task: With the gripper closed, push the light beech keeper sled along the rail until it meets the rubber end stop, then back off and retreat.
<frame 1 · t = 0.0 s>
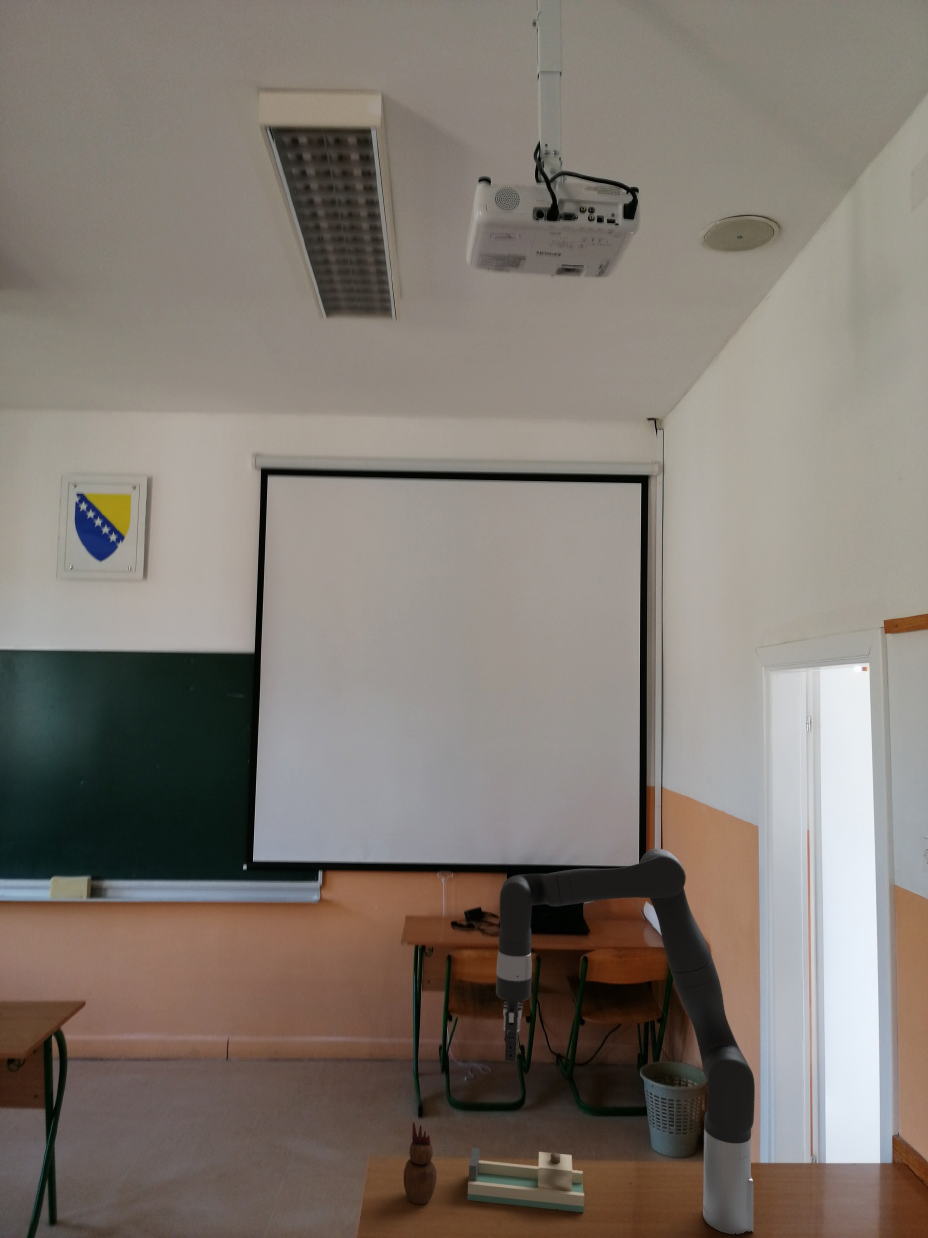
hand: (511, 1052, 175), 29 cm above the table, fingers open, 8 cm apart
wooden figurine: (419, 1200, 170), on the table
rail: (525, 1193, 174), on the table
keeper: (555, 1172, 174), point 5 cm above the table, slide at 0.0 cm
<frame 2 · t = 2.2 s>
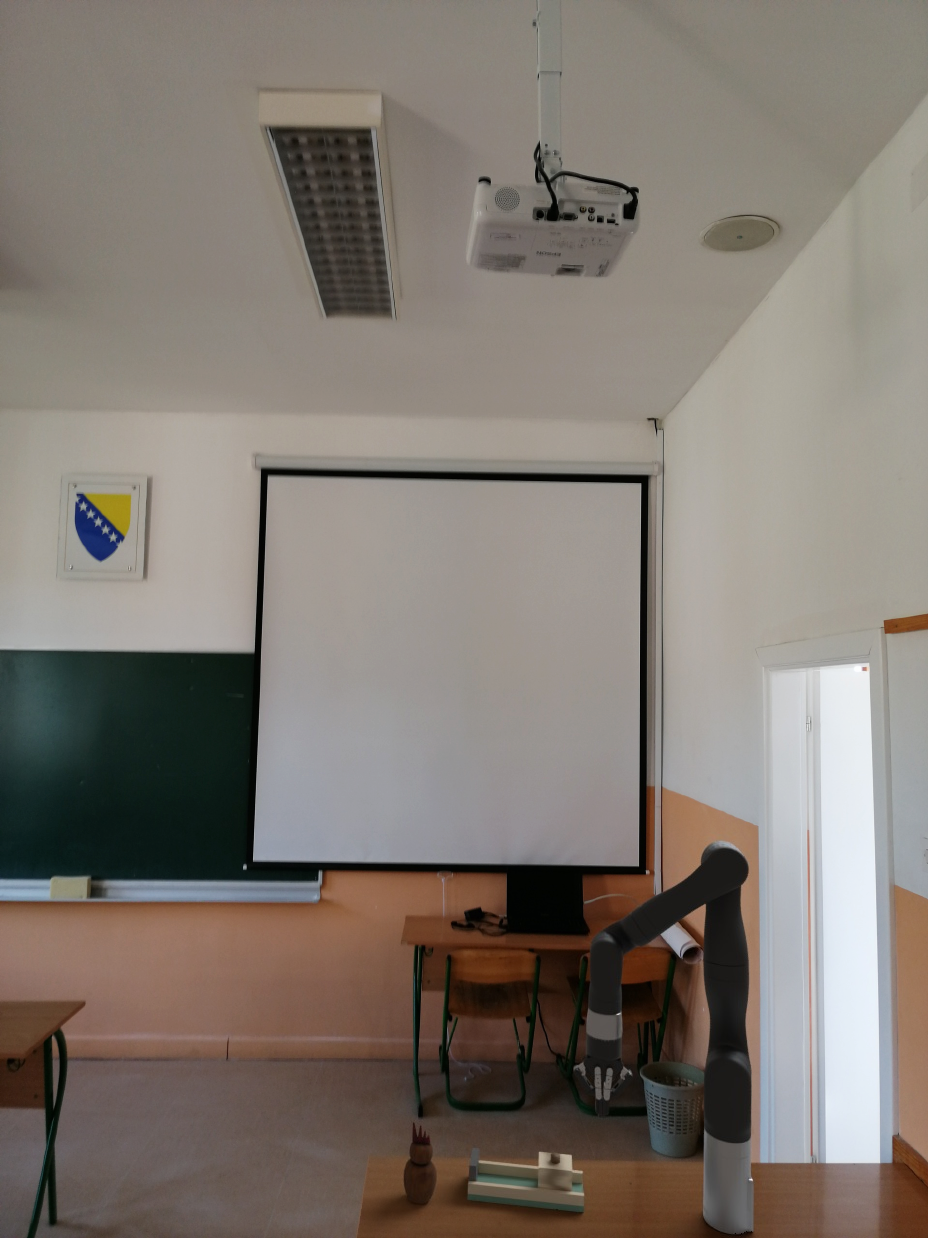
hand: (601, 1116, 174), 17 cm above the table, fingers closed
nothing on the table moved.
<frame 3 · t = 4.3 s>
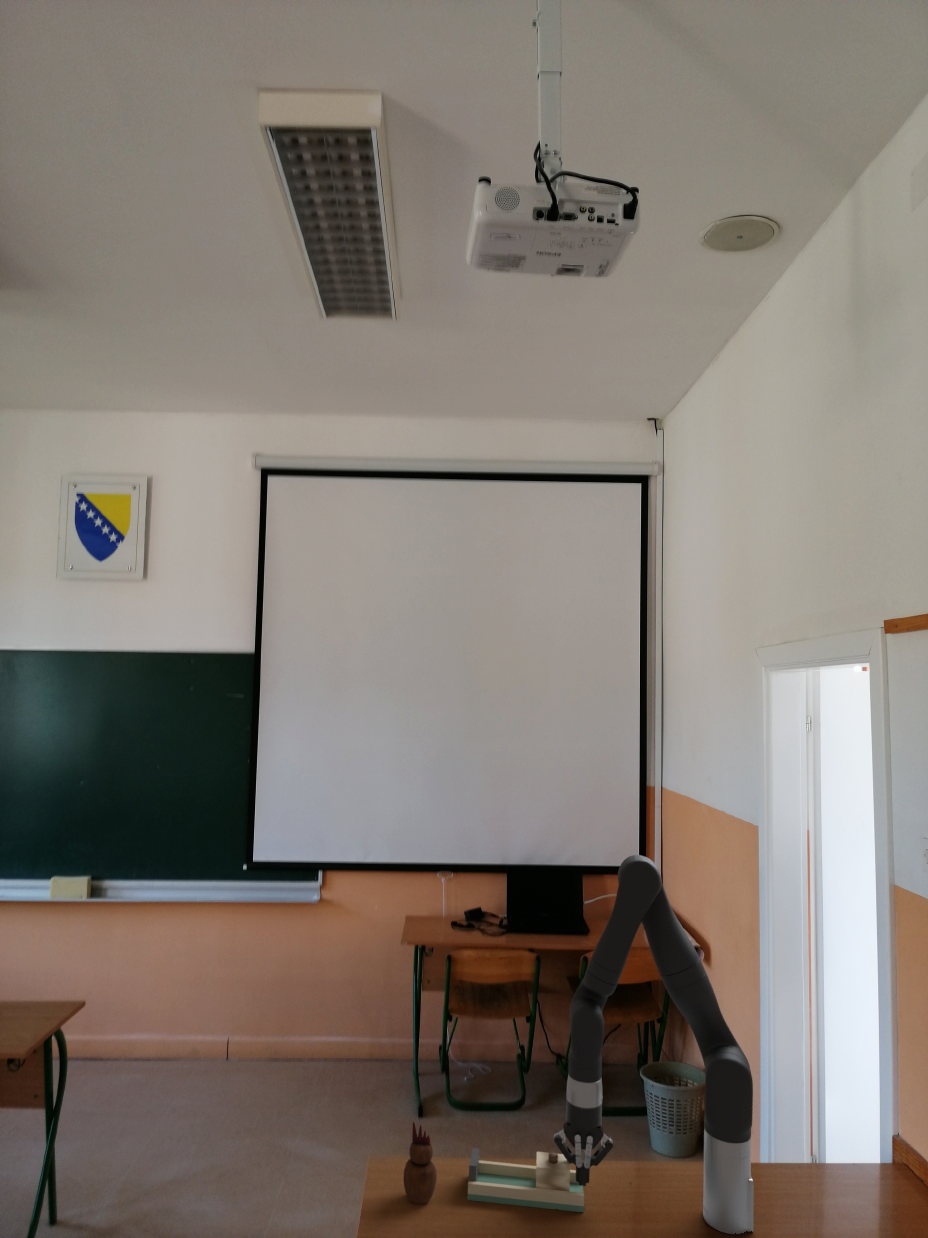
hand: (582, 1184, 173), 3 cm above the table, fingers closed
keeper: (552, 1172, 174), point 5 cm above the table, slide at 0.5 cm, touching gripper
everything else where it was.
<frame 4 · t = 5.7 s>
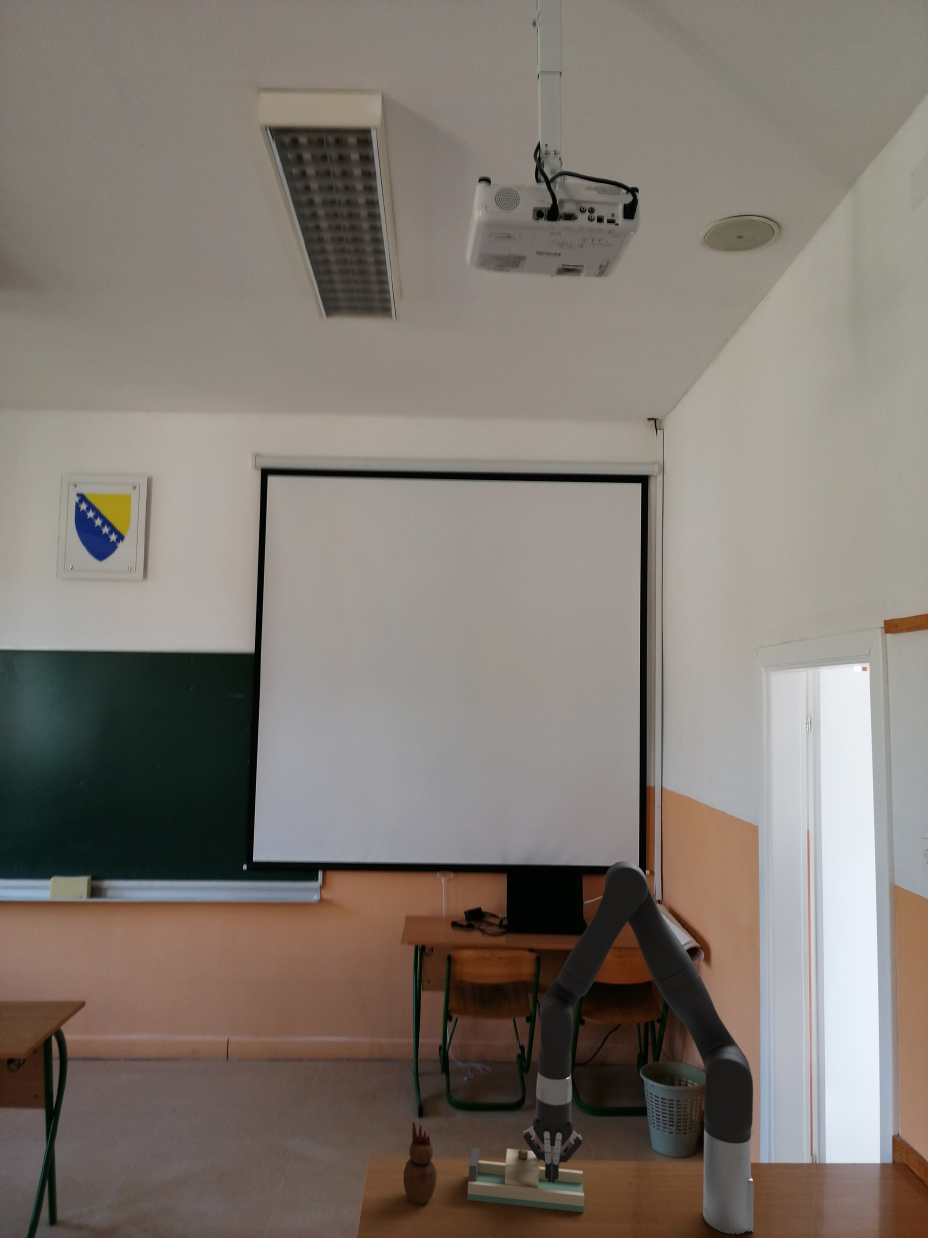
hand: (551, 1180, 173), 3 cm above the table, fingers closed
keeper: (522, 1168, 174), point 5 cm above the table, slide at 6.9 cm, touching gripper
everything else where it was.
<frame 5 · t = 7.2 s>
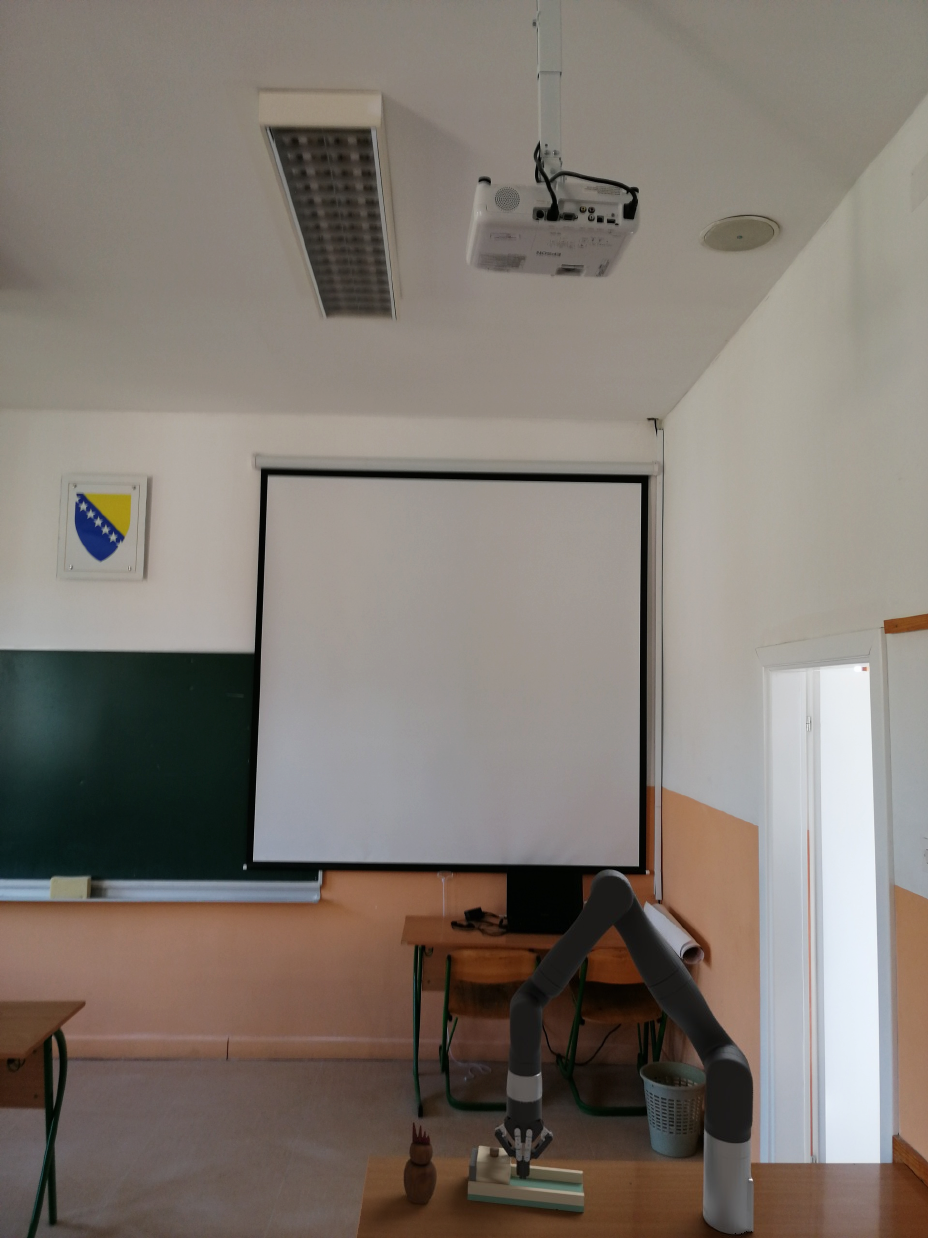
hand: (522, 1177, 174), 3 cm above the table, fingers closed
keeper: (493, 1165, 175), point 5 cm above the table, slide at 13.0 cm, touching gripper, rail
everything else where it was.
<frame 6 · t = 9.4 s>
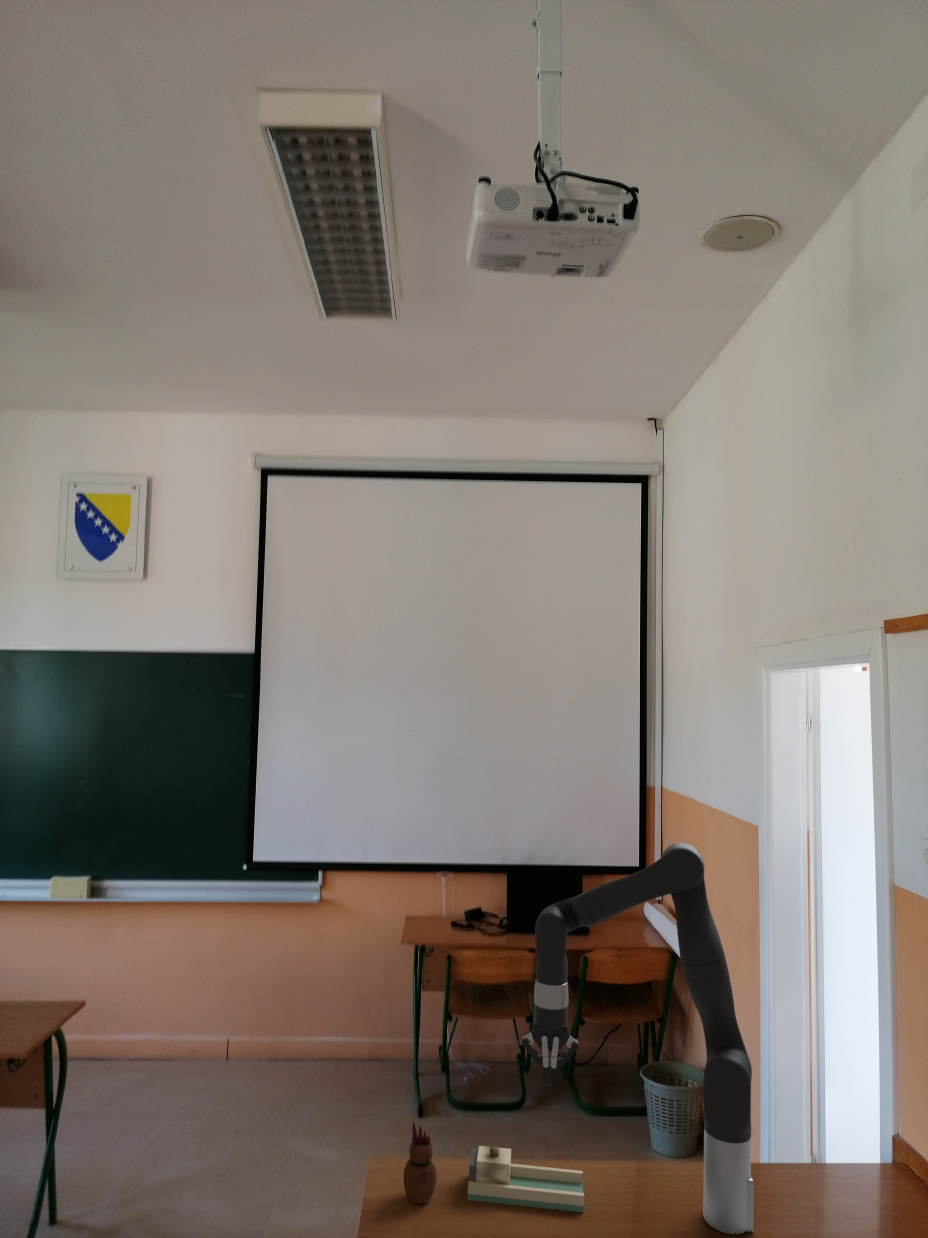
hand: (549, 1083, 179), 21 cm above the table, fingers closed
keeper: (493, 1165, 175), point 5 cm above the table, slide at 13.0 cm, touching rail
everything else where it was.
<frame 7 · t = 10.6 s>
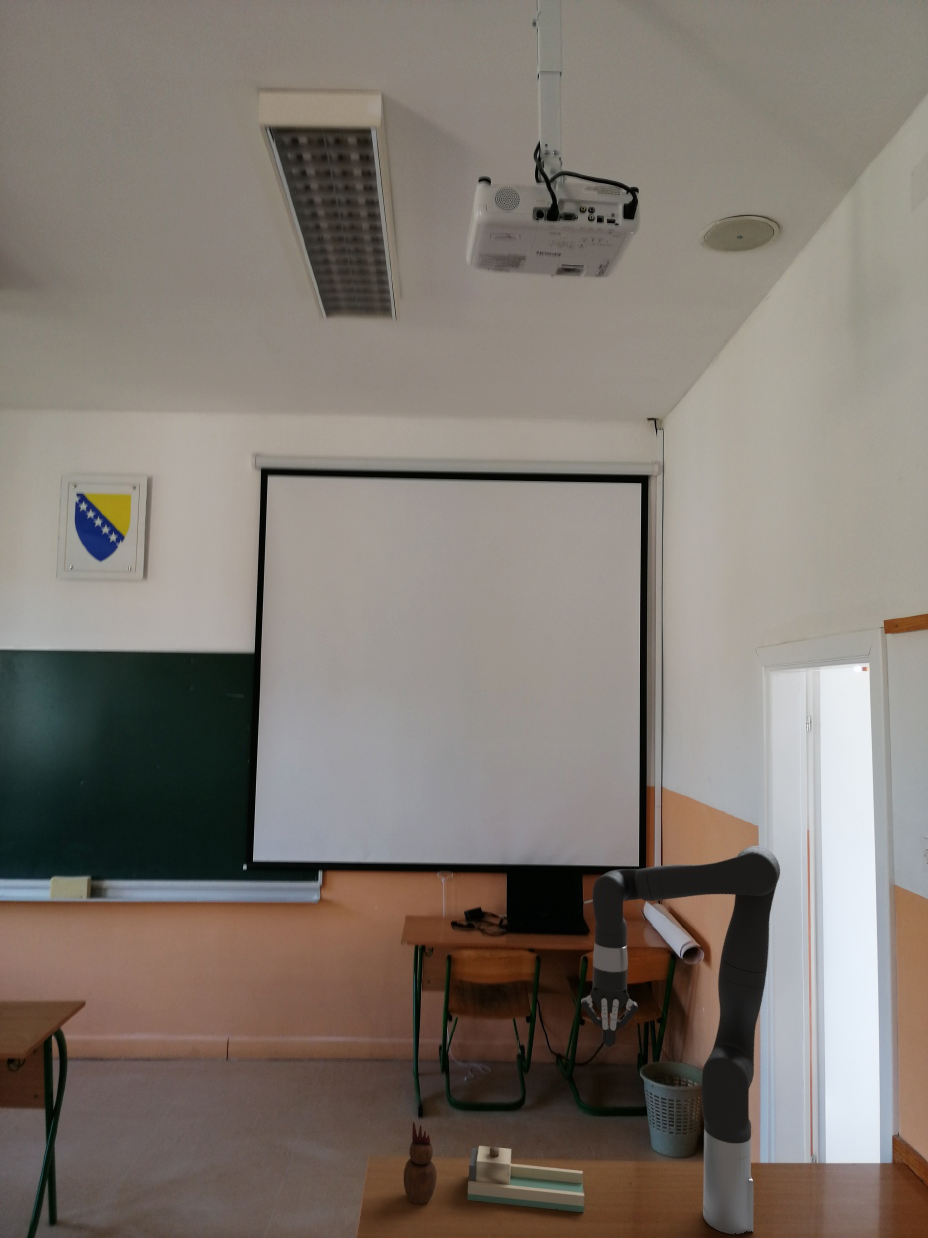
hand: (608, 1046, 180), 29 cm above the table, fingers closed
nothing on the table moved.
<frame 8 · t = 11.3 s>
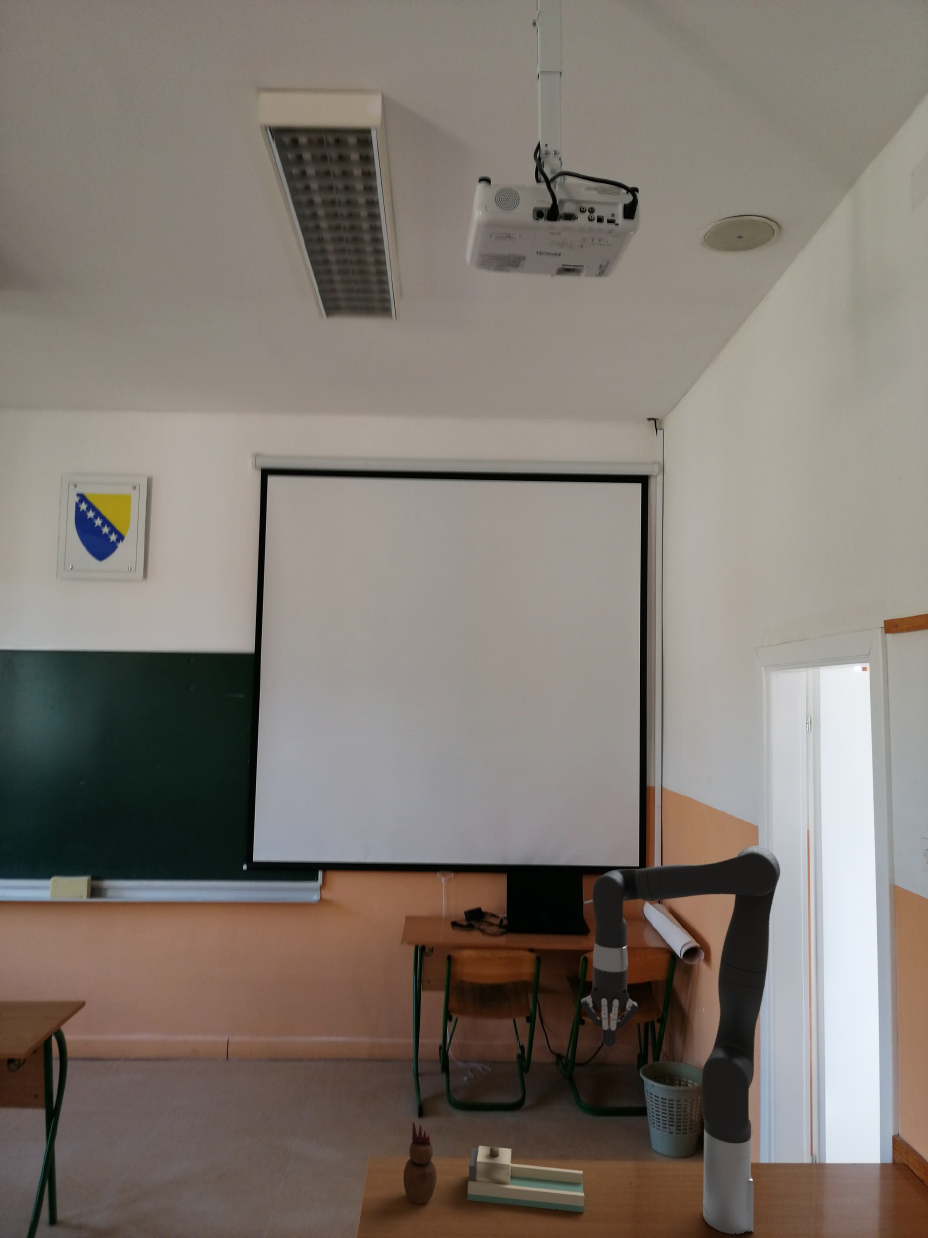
hand: (608, 1046, 181), 29 cm above the table, fingers closed
nothing on the table moved.
at the end: keeper slide at 13.0 cm; keeper touching rail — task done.
